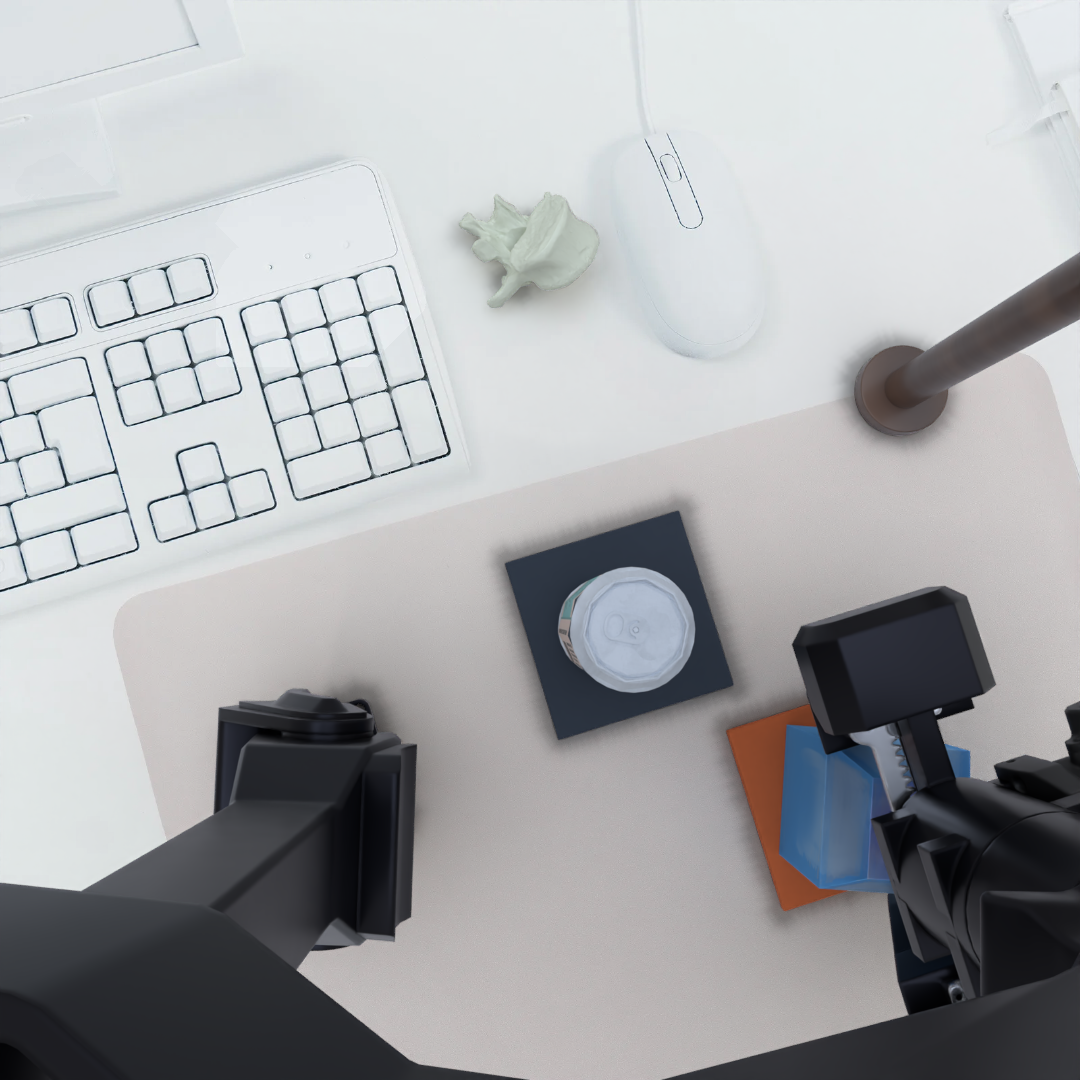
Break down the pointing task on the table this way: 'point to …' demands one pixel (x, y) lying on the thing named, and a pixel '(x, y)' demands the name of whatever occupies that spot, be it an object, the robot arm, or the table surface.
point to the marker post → (963, 353)
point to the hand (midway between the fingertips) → (872, 809)
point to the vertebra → (533, 245)
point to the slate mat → (568, 566)
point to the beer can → (628, 629)
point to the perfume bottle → (838, 811)
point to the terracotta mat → (773, 797)
